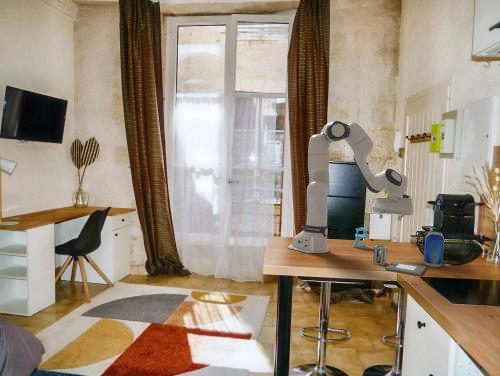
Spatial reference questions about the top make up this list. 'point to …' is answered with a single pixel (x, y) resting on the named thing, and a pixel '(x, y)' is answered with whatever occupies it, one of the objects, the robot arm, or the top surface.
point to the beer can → (434, 249)
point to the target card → (406, 268)
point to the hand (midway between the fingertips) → (389, 218)
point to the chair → (360, 237)
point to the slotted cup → (383, 254)
